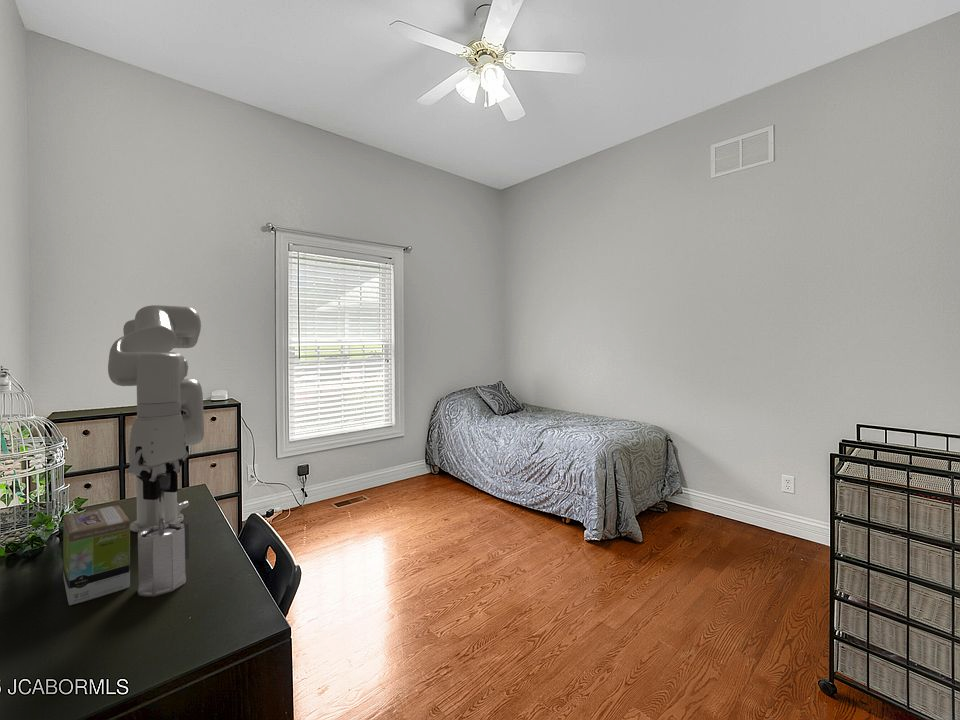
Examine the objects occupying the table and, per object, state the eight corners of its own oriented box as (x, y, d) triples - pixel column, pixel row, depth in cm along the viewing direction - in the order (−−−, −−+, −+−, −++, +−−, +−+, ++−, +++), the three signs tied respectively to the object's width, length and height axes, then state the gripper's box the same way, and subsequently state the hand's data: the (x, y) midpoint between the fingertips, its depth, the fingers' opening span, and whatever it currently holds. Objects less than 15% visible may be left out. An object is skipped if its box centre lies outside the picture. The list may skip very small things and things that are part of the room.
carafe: (170, 569, 101) (169, 518, 100) (203, 571, 100) (202, 519, 99) (127, 595, 90) (126, 537, 90) (163, 597, 89) (162, 539, 89)
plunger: (161, 530, 96) (160, 471, 96) (183, 532, 96) (182, 472, 96) (139, 541, 91) (137, 478, 91) (162, 542, 90) (161, 479, 90)
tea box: (132, 587, 93) (130, 519, 93) (67, 608, 86) (66, 533, 85) (120, 564, 103) (119, 502, 103) (62, 580, 96) (60, 514, 96)
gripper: (175, 405, 102) (177, 483, 102) (105, 416, 85) (107, 508, 85) (204, 405, 101) (206, 484, 101) (139, 416, 84) (141, 510, 84)
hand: (160, 494), depth 93 cm, fingers open, 4 cm apart
